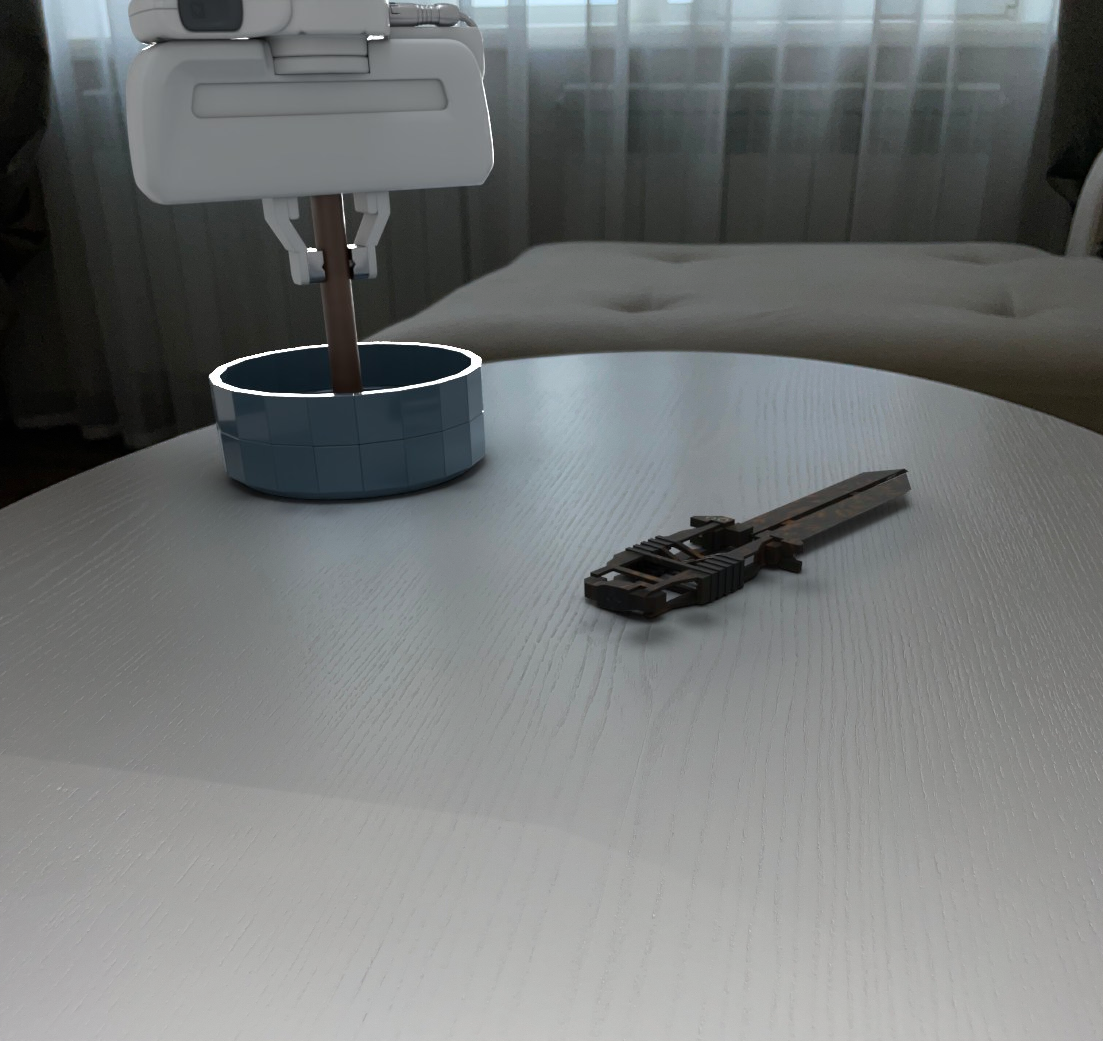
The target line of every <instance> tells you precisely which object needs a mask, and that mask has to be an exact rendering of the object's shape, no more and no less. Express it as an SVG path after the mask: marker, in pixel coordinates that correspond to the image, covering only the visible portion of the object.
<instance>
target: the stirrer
mask: <svg viewBox="0 0 1103 1041" xmlns="http://www.w3.org/2000/svg"><path fill="white" fill-rule="evenodd" d="M309 199H310V200H309V201H310V208H311V218H312V224H313V225H312V226H313V233H314V242H315V249H316V250H321V251H322V252H323V260H324V264H323V266H322V268H323V270H324V271H325V282H324V283H319V285H320V293H321V302H322V308H323V309H322V310H323V318H324V319H323V320H324V328H325V335H326V345H327V346H328V354H329V363H330V371H331V380H332V388H333V394H343V393H360V392H363V389H362V380H361V370H360V361H359V351H358V343H359V342H358V332H357V324H356V314H355V306H354V295H353V286H352V280H351V275H350V266H349V256H348V247H347V245H348V238H347V228H346V219H345V210H344V209H345V208H344V200H343V194H330V195H315V196H309Z"/></svg>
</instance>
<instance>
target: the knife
mask: <svg viewBox="0 0 1103 1041" xmlns="http://www.w3.org/2000/svg"><path fill="white" fill-rule="evenodd" d="M907 473H909V470H907V469H906V468H897V469H886V470H885V469H884V470H875V471H874V470H873V471H863V472H861V473H858V474H856V475H854V476H850V477H848V478H847V479H844V480H841V481H839V482H836V483H834V484H832V485H829V486H827V487H824V488H822V489H819V490H818V491H815V492H813V493H810V494H807V495H806V496H802V497H800V498H798V499H796V500H792V501H790V502H788V503H786V504H784V505H781V506H778V507H776V508H774V509H772V510H769V511H766V512H764V513H762V514H760V515H757V516H754V517H753V518H750V519H748V520H745V521H743V522H736V519H735V518H732V517H728V516H724V515H693V516H690V518H689V527H691V528H689V529H682V530H680V531H677V532H675V533H672V534H670V535H665V536H662V535H660V534H658V535H655V536H654V538H653V537H650V538H648V539H647V541H646V540H643V541H641V542H640V543H635V544H633V545H632V547H631V546H628V547H625V549H624V550H623V551H620V552H618V553H615V554H613V556H612V558H611V559H610V560H608V561H607V562H606V565H604V566H602V567H600V568H597V569H595V570H592V571H590V573H589V575H590V576H588V577H585V578H583V595H584V596H583V597H584V598H585V599H589V600H592V601H594V602H595V603H596V606H597V607H600V608H601V609H606V610H607V609H608V610H611V611H616V612H620V613H624V612H629V611H637V612H640V613H642V616H643V617H646V618H649V619H651V618H653V617H655V616H658V615H660V614H662V613H664V612H667V611H668V610H671V609H675V608H680V607H685V606H689V605H694V604H695V605H696V604H697V605H705V604H706V603H713V602H715V601H716V599H718V600H719V599H722V598H723V596H728V595H729V594H730V592H731V593H734V592H736V591H737V589H742V588H744V585H745V584H744V583H745V581H747V580H749V579H752V578H753V577H756V575H757V574H758V572H759V570H760V569H761V568H763V567H764V566H766V565H768V564H770V565H774V566H775V565H778V568H780V569H783V570H787V571H791V572H795V573H799V572H802V571H803V560H799V559H797V558H796V557H795V555H797V556H800V555H803V554H804V548H805V547H804V546H805V543H804V542H803V541H804V540H806V539H808V538H810V537H812V536H815V535H817V534H819V533H821V532H824V531H826V530H828V529H829V528H833V527H834V526H836V525H839V524H841V523H843V522H845V521H848V520H850V519H853V518H854V517H857V516H859V515H861V514H863V513H865V512H868V511H870V510H871V509H874V508H876V507H878V506H881V505H883V504H886V503H888V502H890V501H891V500H894V499H896V498H898V497H901V496H902V495H904V494H907V493H908V492H910V491H912V487H911V483H910V480H909V477H908V474H907ZM688 541H689V544H693V545H695V546H701V547H698V548H691V547H690V546H688V545H687V544H685V543H686V542H688ZM729 547H730V548H735V549H732V550H730V551H727V552H725V553H724V552H719V553H715V554H710V555H706V554H708V553H711V552H713V551H716V550H718V549H721V550H725V549H727V548H729ZM672 548H673V549H676V550H678V552H677V553H673V552H672ZM752 557H753V562H750V563H748V564H746V560H747V559H749V558H752ZM676 571H680V573H677V574H675V575H672V576H670V577H667V578H666V579H665V578H662V577H659V576H662V575H664V574H665V573H671V572H676ZM612 572H613V573H617V574H616V575H614V576H613V578H612V579H611V580H608V578H607V577H604V576H605V575H607V574H610V573H612ZM692 582H693V583H696V586H695V588H694V587H692V586H688V585H685V584H687V583H692ZM666 589H667V590H670V591H673V592H676V593H680V594H679V595H677V596H675V597H674V598H671V599H669V600H667V599H668V598H667V594H668V592H666V591H663V590H666Z"/></svg>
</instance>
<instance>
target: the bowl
mask: <svg viewBox="0 0 1103 1041" xmlns="http://www.w3.org/2000/svg"><path fill="white" fill-rule="evenodd" d="M358 351H359V361H360V370H361V380H362V389H363V392H360V393H343V394H333V388H332V380H331V371H330V363H329V354H328V346H327V344H321V345H309V346H308V345H307V346H299V347H295V348H294V347H293V348H287V349H281V350H280V349H279V350H275V351H267V352H264V353H259V354H255V355H251V356H246V357H242V358H237V359H236V360H233V361H231V362H228V363H226V364H223V365H221V366H218V367H216V368H215V370H213V371H212V372H211V373H210V374H209V375H208V383H209V389H210V390H209V391H210V395H211V401H212V406H213V415H214V420H215V426H216V431H217V437H218V445H219V449H220V450H219V451H220V456H221V461H222V462H221V463H222V465H223V468H224V470H225V473H226V475H227V477H229V478H232V479H233V480H236V481H238V482H240V483H242V484H243V485H245V486H247V487H248V488H250V489H252V490H255V491H257V492H260V493H264V494H268V495H274V496H277V497H285V498H291V499H301V500H355V499H368V498H369V499H370V498H378V497H384V496H385V497H386V496H392V495H398V494H405V493H409V492H414V491H419V490H422V489H423V490H424V489H427V488H430V487H434V486H437V485H441V484H443V483H446V482H448V481H451V480H453V479H456V478H457V477H460V476H461V475H463V474H465V473H466V472H467V471H468V470H469V469H471V468H472V467H473V466H475V465H476V464H477V463H478V462H479V461H481V460H482V459H483V458H484V457H485V456H486V454H487V436H486V435H487V434H486V418H485V402H484V400H485V398H484V382H483V381H484V380H483V365H482V364H483V362H482V358H481V357H480V356H478V355H476V354H475V353H473V352H472V351H470V350H465V349H461V348H457V347H453V346H448V345H441V344H432V343H421V342H398V341H397V342H396V341H395V342H394V341H392V342H391V341H373V342H372V341H370V342H358Z"/></svg>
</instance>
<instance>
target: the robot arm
mask: <svg viewBox="0 0 1103 1041" xmlns="http://www.w3.org/2000/svg"><path fill="white" fill-rule="evenodd" d="M127 13H128V21H129V26H130V29H131V32H132V34H133V36H134V38H135V39H136V40H137V41H138V42H139V43H141V44H143V45H147V47H145V48H143V49H141V50H140V51H139V52H138V53H137V54H135V56H134V57H133V58H132V60H131V62H130V65H129V67H128V70H127V74H126V80H125V109H126V110H125V111H126V126H127V138H128V146H129V155H130V162H131V168H132V174H133V178H134V182H135V184H136V186H137V188H138V189H139V190H140V191H141V192H142V194H144V195H145V197H147V198H148V200H150V201H151V202H152V203H155V204H158V205H163V206H164V205H165V206H173V205H186V204H202V203H205V204H206V203H218V202H219V203H220V202H236V201H248V200H249V201H251V200H261V204H262V209H263V217H264V220H265V222H266V224H268V227H270V229H271V230H272V232H273V233H274V235H275V236H276V237H277V239H278V240H279V242H280V243H281V245H282V246H283V247H284V250H286V251H288V258H289V266H290V267H289V268H290V275H291V278H292V281H293V283H294V284H295V285H299V286H308V285H315V284H320V283H324V282H325V271H324V270H323V268H322V266H323V264H324V260H323V252H322V251H321V250H316V248H312V247H309V248H308V247H307V246H306V244H305V242H304V241H303V239H302V237H301V236H300V235H299V232H298V231H297V230H296V228H295V227H294V225H293V223H292V222H291V220H298V219H300V209H299V200H298V197H310V196H315V195H330V194H342V195H344V194H346V195H347V194H352V195H353V203H354V210H355V212H357V213H362V214H363V216H362V219H361V221H360V225H359V228H358V229H357V232H356V236H355V238H354V240H353V244H347V247H348V256H349V266H350V275H351V281H358V280H368V279H376V278H377V276H378V265H377V253H376V247H377V246H378V244H379V242H380V239H381V236H382V234H383V232H384V230H385V227H386V225H387V222H388V220H389V218H390V216H391V203H390V202H391V201H390V192H391V191H406V190H421V189H437V188H438V189H439V188H452V187H453V188H454V187H469V186H470V187H471V186H482V185H483V184H485V181H486V180H487V178H488V177H489V175H490V173H491V171H492V170H493V167H494V163H495V162H494V161H495V160H494V145H493V136H492V127H491V121H490V114H489V113H490V112H489V108H488V102H487V97H486V91H485V86H484V82H483V80H484V76H485V72H486V70H485V69H486V64H485V46H484V44H485V43H484V37H483V34H482V31H481V29H480V28H479V26H478V25H477V23H476V21H474V20H473V19H472V18H471V17H470V16H469V15H468V14H466V13H464V12H462V11H461V10H460V8H459V6H458V5H456V4H454V3H447V2H437V3H434V4H421V3H413V2H394V1H391V2H390V1H389V0H130V2H129V4H128V7H127ZM460 22H461V23H464V24H465V25H466V26H458V25H459V23H460Z"/></svg>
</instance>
